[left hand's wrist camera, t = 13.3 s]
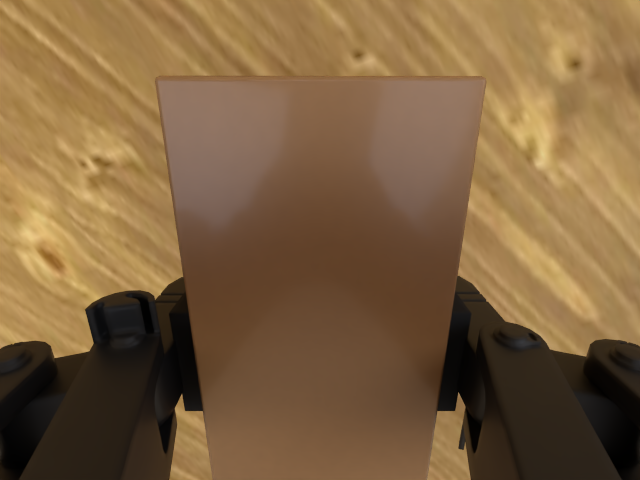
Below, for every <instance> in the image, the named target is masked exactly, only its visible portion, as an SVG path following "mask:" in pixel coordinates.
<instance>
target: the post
mask: <svg viewBox="0 0 640 480" xmlns="http://www.w3.org/2000/svg"><path fill="white" fill-rule="evenodd" d="M155 83H156V90H157V97H158V104H159V111H160V118H161V125H162V132H163V138H164V145H165V152H166V159H167V166H168V173H169V180H170V187H171V194H172V201H173V208H174V214H175V221H176V228H177V235H178V242H179V249H180V256H181V263H182V270H183V277H184V284H185V290H186V297H187V304H188V311H189V318H190V325H191V332H192V339H193V346H194V353H195V360H196V366H197V373H198V380H199V387H200V394H201V401H202V408H203V415H204V422H205V429H206V436H207V442H208V449H209V456H210V463H211V470H212V477H213V480H427V476H428V469H429V462H430V456H431V449H432V442H433V436H434V429H435V422H436V415H437V409H438V402H439V395H440V389H441V382H442V375H443V369H444V362H445V355H446V348H447V342H448V335H449V328H450V322H451V315H452V308H453V301H454V295H455V288H456V281H457V275H458V268H459V261H460V254H461V248H462V241H463V234H464V228H465V221H466V214H467V207H468V201H469V194H470V187H471V181H472V174H473V167H474V161H475V154H476V147H477V140H478V134H479V127H480V120H481V114H482V107H483V100H484V93H485V87H486V78H484V77H482V76H159V77H156V80H155Z"/></svg>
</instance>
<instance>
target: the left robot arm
mask: <svg viewBox="0 0 640 480" xmlns="http://www.w3.org/2000/svg"><path fill="white" fill-rule="evenodd" d="M85 311H86V315H87V319H88V322H89V326H90V330H91V334H92V338H93V342H94V344H93V346H92V348H91V350H90V351H89V352H85V353H80V354H75V355H70V356H65V357H59V358H54V355H53V352H52V349H51V346H50V345H48V344H47V343H46V342H40V341H29V342H19V343H14V345H12V344H11V345H8V346H5V347H3V348H1V349H0V480H169V478H170V471H171V464H172V457H173V450H174V443H175V436H176V429H177V420H176V413H175V407H176V404H177V402H178V400H179V398H180V396H181V394H182V395H183V401H184V407H185V411H203V408H202V401H201V394H200V387H199V380H198V373H197V366H196V360H195V353H194V346H193V339H192V332H191V325H190V318H189V311H188V304H187V297H186V290H185V284H184V277H181V278H179V279H178V280H176V281H174V282H173V283H171V284H169V285H168V286H167V287H166V288H165V289H164V291H163V292H162V293H161V295H159V296H158V298H157V299H156V300H155V298H154V296H153V295H152V294H151V293H149V292H145V291H140V290H138V291H124V292H119V293H114V294H111V295H108V296H105V297H103V298H101V299H99V300H97V301H95V302H93V303H92V304H91V305H89V306H88V307H87V308H86V309H85ZM458 392H459V394H460V396H461V398H462V400H463V402H464V404H465V406H466V408H465V413H464V419H463V424H462V430H461V435H460V441H459V449H462V450H464V445H465V442H466V449H467V456H468V463H469V470H470V477H471V480H640V346H638V345H636V344H633V343H627V342H625V341H621V340H609V339H603V340H596V341H594V342H593V343H592V344H590V347H589V350H588V353H587V356H586V357H585V356H579V355H574V354H569V353H563V352H558V351H554V350H550V349H549V347H548V345H547V344H546V342H545V341H544V340H543V339H542V338H541V336H540V335H538V334H536V333H535V332H533V331H532V330H530V329H528V328H525V327H523V326H520V325H518V324H514V323H509V322H505V321H504V320H503V318H502V317H501V316H500V315H499V314H498V313H497V312H496V310H495V309H494V308H493V307H492V306H491V305H490V304H489V302H486V299H485V298H484V297H483V296H482V294H480V292H479V291H478V290H477V289H476V288H475V287H474V285H473V284H472V283H470V282H468V281H467V280H465V279H463V278H461V277H460V276H457V281H456V288H455V295H454V301H453V308H452V315H451V322H450V328H449V335H448V342H447V348H446V355H445V362H444V369H443V375H442V382H441V389H440V395H439V402H438V409H437V411H455V408H456V402H457V397H458Z"/></svg>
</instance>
